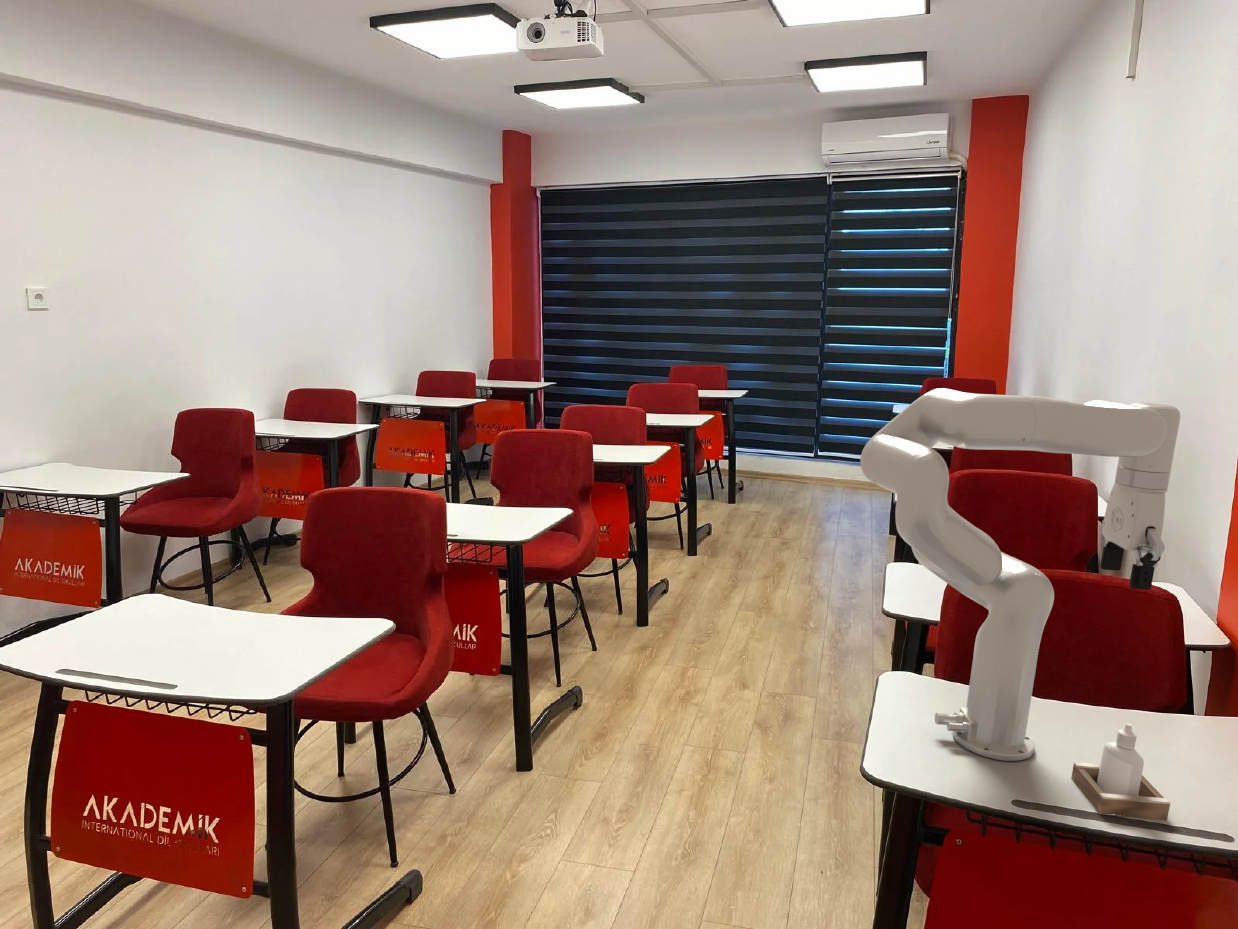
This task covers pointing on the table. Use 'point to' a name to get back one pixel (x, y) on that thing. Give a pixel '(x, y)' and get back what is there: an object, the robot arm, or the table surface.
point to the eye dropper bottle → (1121, 765)
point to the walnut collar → (1124, 805)
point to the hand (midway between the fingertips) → (1124, 578)
